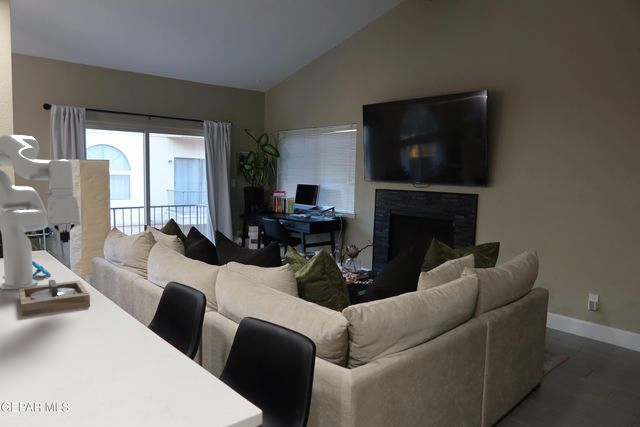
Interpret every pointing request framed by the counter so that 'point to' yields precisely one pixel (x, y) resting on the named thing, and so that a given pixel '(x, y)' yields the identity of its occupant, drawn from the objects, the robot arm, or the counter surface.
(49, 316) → the counter surface
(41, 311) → the dial panel
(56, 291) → the dial
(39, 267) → the gear
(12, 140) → the robot arm
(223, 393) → the counter surface
